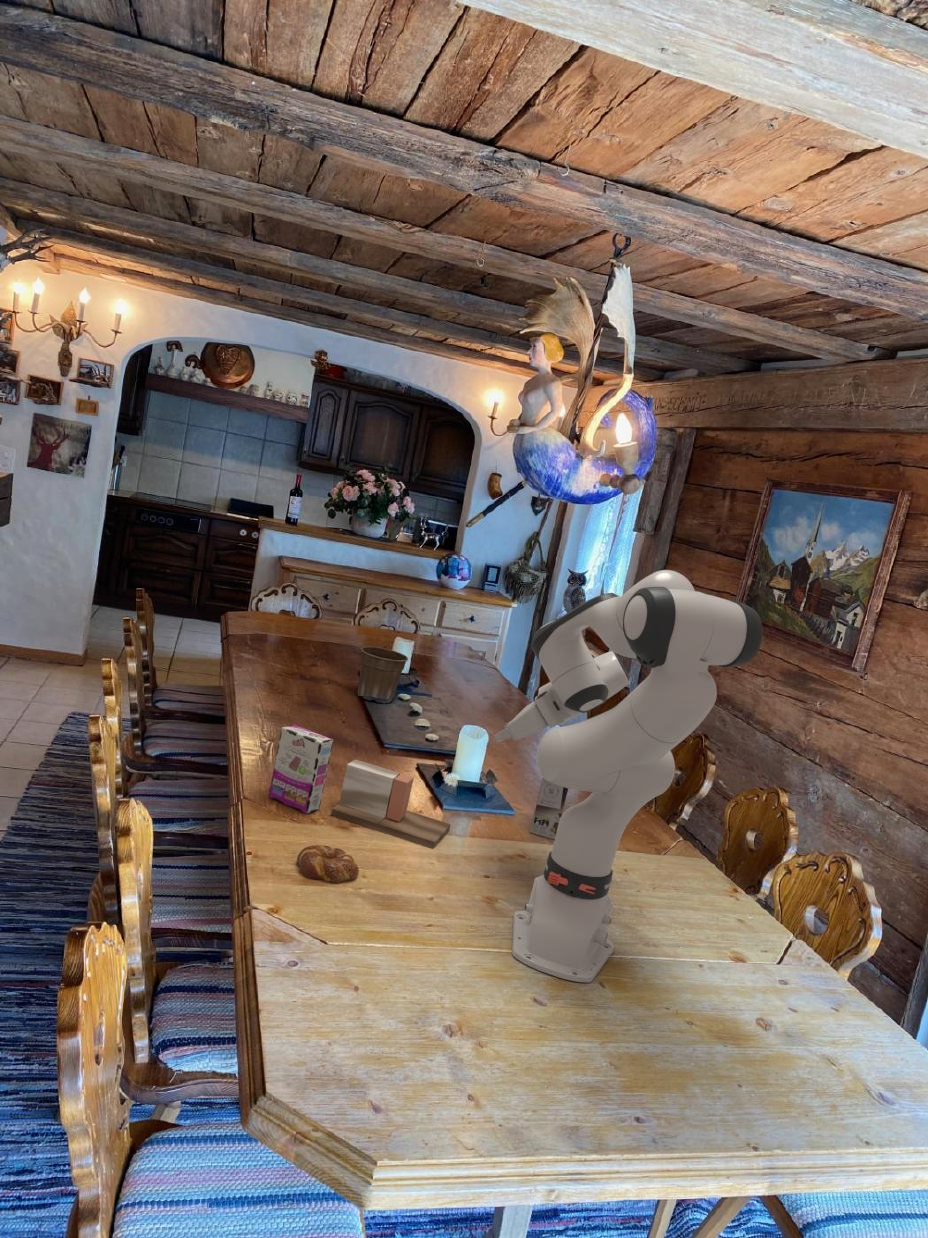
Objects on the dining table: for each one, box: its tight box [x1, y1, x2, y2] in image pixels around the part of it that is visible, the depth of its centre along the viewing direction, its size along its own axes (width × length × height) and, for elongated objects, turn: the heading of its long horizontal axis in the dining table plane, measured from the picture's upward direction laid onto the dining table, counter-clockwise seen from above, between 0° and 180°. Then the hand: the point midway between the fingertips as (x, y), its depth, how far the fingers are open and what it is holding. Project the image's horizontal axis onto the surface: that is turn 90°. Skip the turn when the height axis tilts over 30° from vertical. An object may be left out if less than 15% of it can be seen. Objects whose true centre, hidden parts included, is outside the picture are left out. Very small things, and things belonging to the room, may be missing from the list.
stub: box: [386, 773, 415, 822], centre depth 189 cm, size 4×3×9 cm, turn 164°
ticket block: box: [330, 759, 451, 850], centre depth 190 cm, size 12×24×11 cm, turn 74°
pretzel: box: [296, 844, 360, 883], centre depth 162 cm, size 12×11×4 cm
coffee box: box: [529, 777, 569, 841], centre depth 205 cm, size 9×6×16 cm
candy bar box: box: [268, 724, 334, 814], centre depth 188 cm, size 11×5×16 cm, turn 62°
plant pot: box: [356, 646, 409, 699], centre depth 290 cm, size 16×16×16 cm
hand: (501, 733), depth 182 cm, fingers open, 8 cm apart
